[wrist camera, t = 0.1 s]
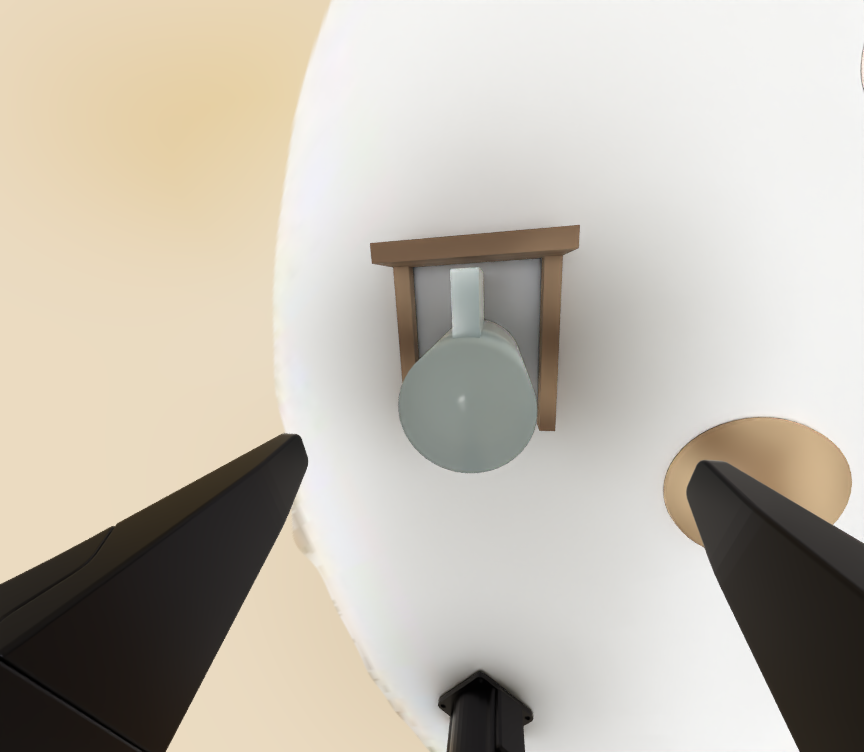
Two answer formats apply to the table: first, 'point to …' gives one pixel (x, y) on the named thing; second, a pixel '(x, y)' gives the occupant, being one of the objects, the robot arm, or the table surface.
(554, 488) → the table surface
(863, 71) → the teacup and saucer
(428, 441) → the jug
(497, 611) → the table surface
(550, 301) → the dock
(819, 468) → the coaster
